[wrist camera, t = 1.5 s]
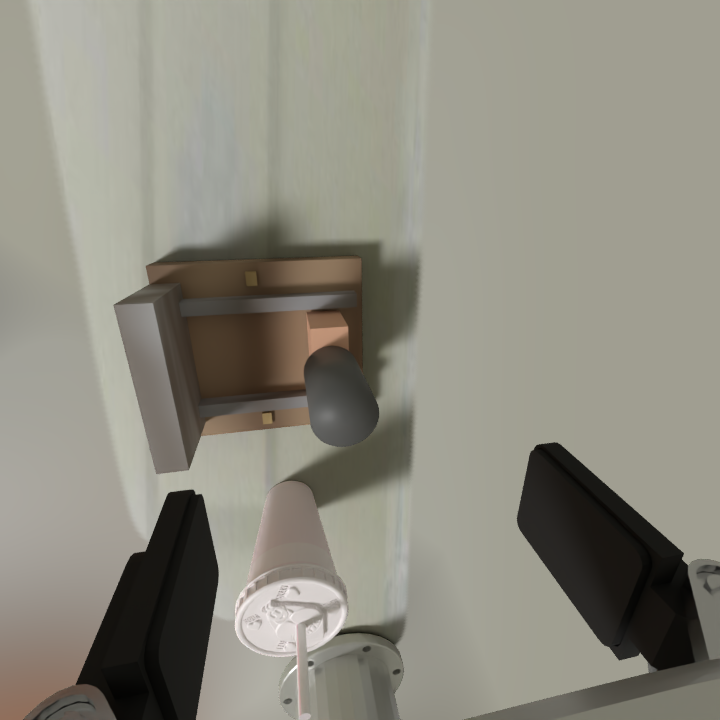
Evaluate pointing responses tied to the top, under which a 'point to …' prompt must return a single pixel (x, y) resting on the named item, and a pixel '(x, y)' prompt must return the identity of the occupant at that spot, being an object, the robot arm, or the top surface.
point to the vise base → (229, 345)
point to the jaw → (336, 384)
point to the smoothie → (291, 585)
